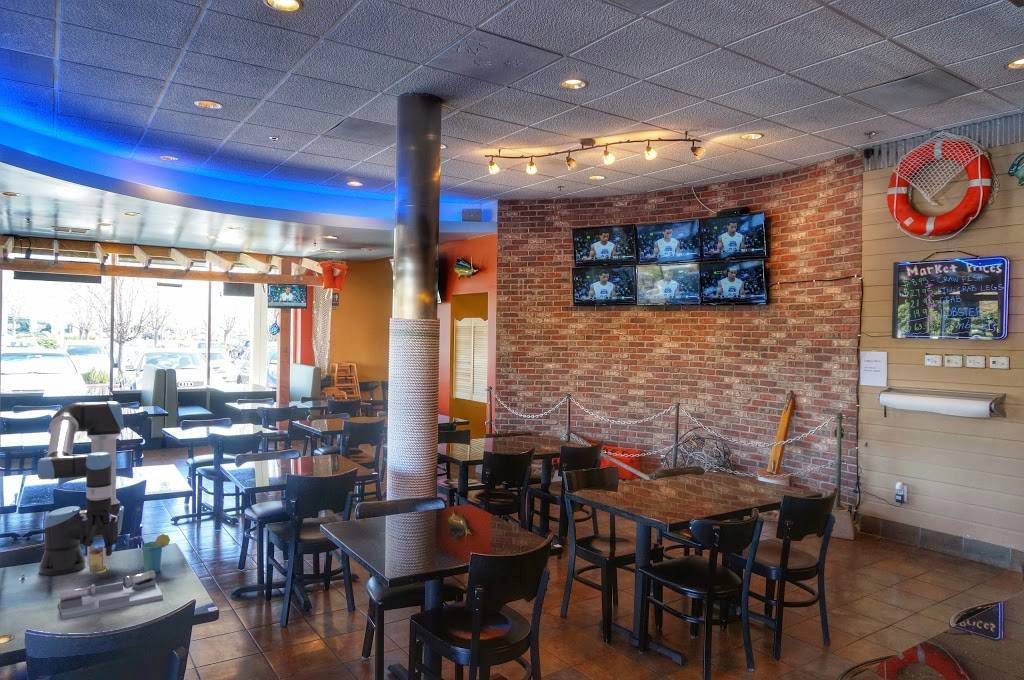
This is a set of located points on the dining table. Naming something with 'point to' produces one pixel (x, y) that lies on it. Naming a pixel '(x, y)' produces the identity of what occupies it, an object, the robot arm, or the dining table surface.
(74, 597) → the shaft
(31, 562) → the dining table surface
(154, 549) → the cup
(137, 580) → the shaft
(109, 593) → the bench
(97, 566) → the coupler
